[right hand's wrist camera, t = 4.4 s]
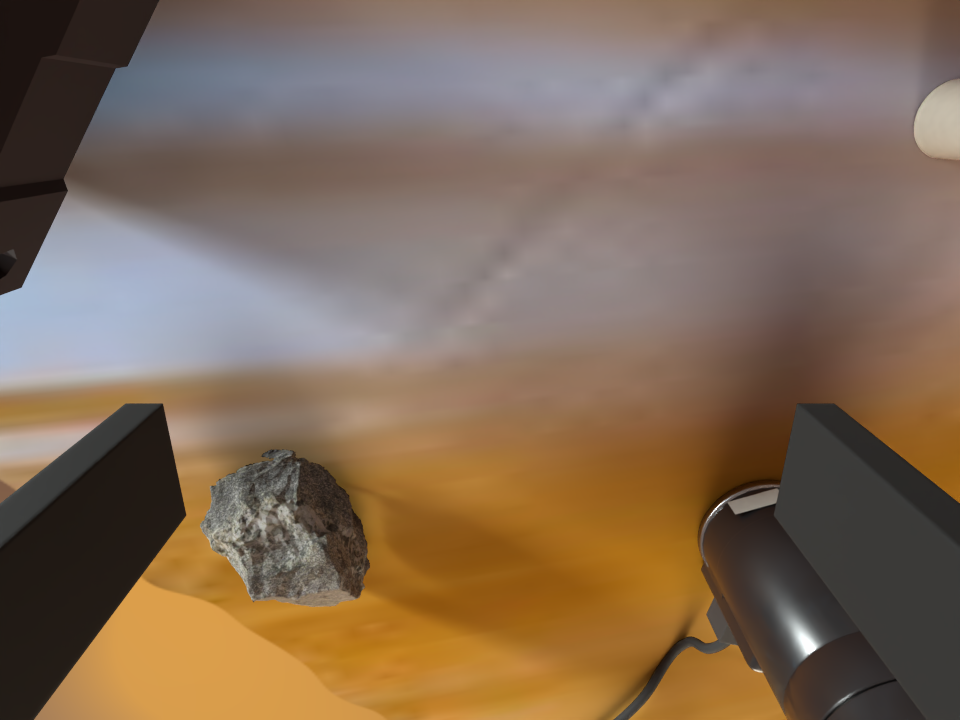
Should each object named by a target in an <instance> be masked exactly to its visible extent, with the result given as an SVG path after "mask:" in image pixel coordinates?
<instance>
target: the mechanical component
mask: <svg viewBox="0 0 960 720" xmlns="http://www.w3.org/2000/svg"><path fill="white" fill-rule="evenodd" d="M158 1H159V0H0V295H2V294H5V293H8V292H10V291H13V290H16V289H19V288H21V287H22V285H23V283H24V281H25V279H26V277H27V275H28V273H29V271H30V269H31V267H32V265H33V262H34V260H35V258H36V256H37V254H38V252H39V250H40V248H41V246H42V244H43V242H44V239H45V237H46V235H47V233H48V231H49V229H50V227H51V225H52V223H53V221H54V219H55V216H56V214H57V212H58V210H59V208H60V206H61V204H62V202H63V200H64V198H65V196H66V194H67V191H68V190H67V187H66V185H65V182H64V176H65V174H66V172H67V170H68V168H69V166H70V164H71V162H72V159H73V157H74V155H75V153H76V151H77V149H78V147H79V145H80V143H81V140H82V138H83V136H84V134H85V132H86V130H87V128H88V126H89V123H90V121H91V119H92V117H93V115H94V113H95V111H96V109H97V107H98V104H99V102H100V100H101V98H102V96H103V94H104V92H105V90H106V87H107V85H108V83H109V81H110V79H111V77H112V75H113V73H114V71H115V68H120V67H126V66H128V64H129V62H130V60H131V58H132V56H133V54H134V51H135V49H136V47H137V45H138V43H139V41H140V39H141V37H142V35H143V33H144V31H145V28H146V26H147V24H148V22H149V20H150V18H151V16H152V14H153V12H154V10H155V8H156V5H157V3H158Z"/></svg>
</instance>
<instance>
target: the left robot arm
mask: <svg viewBox="0 0 960 720" xmlns="http://www.w3.org/2000/svg"><path fill="white" fill-rule="evenodd" d="M780 483H781V481H772V480H767V481H757V482H752V483H748V484H745V485H742V486H739V487H737V488H735V489H733V490H731V491H729V492H728V493H726V494H725V495H723V496H722V497H721V498H719V499H718V500H717V501H716V502H715V503H714V504H713V505H712V506H711V507H710V508H709V510H708V511H707V512H706V514H705V516H704V517H703V520H702V522H701V524H700V527H699V531H698V547H699V551H700V553H701V556H702V558H703V560H704V564H703V567H702V569H701V571H702V573H703V575H704V577H705V579H706V581H707V583H708V585H709V587H710V589H711V591H712V593H713V595H714V599H713V601H712V603H711V606H710V608H709V610H708V612H707V617H708V619H709V621H710V623H711V626H712V628H713V630H714V632H715V634H716V636H717V639H718V640H717V641H715V642H712V643H704V642H702V641H701V640H699V639H697V638H695V637H687V638H685V639H683V640H681V641H679V642H677V643H676V644H675V645H674V646H673V647H672V648H671V649H670V651H669V652H668V653H667V654H666V656H665V657H664V658H663V660H662V661H661V663H660V664H659V665H658V667H657V668H656V670H655V672H654V674H653V675H652V677H651V679H650V680H649V682H648V683H647V685H646V687H645V688H644V689H643V691H642V692H641V693H640V694H639V696H638V697H637V698H636V699H635V700H634V701H633V702H632V703H631V704H630V705H629V706H628V707H627V708H626V709H625V710H624V711H623V712H622V713H621V714H619V715H618V716H617V717H616V718H615V719H614V720H628V719H629V718H631V717H632V716H633V715H634V714H635V713H636V712H637V711H638V710H639V709H640V708H641V707H642V706H643V705H644V704H645V702H646V701H647V700H648V699H649V697H650V696H651V695H652V693H653V692H654V690H655V689H656V687H657V686H658V684H659V682H660V681H661V679H662V677H663V676H664V674H665V672H666V671H667V669H668V667H669V666H670V664H671V663H672V662H673V660H674V659H675V658H676V657H677V655H678V654H680V653H681V652H682V651H683V650H685V649H686V648H688V647H695V648H696V649H698V650H699V651H701V652H703V653H706V654H711V653H716V652H719V651H721V650H723V649H725V648H726V647H728V646H729V645H730V644H733V645H738V646H739V648H740V650H741V652H742V654H743V656H744V658H745V660H746V662H747V664H748V665H749V667H750V668H751V669H752V670H754V671H757V672H762V673H764V675H765V677H766V679H767V681H768V683H769V685H770V687H771V689H772V691H773V693H774V694H775V696H776V698H777V700H778V702H779V704H780V706H781V708H782V710H783V712H784V714H785V716H786V718H787V720H926V719H925V717H924V716H923V715H922V713H921V712H920V711H919V709H918V708H917V707H916V705H915V704H914V703H913V701H912V700H911V699H910V697H909V696H908V695H907V693H906V692H905V691H904V689H903V688H902V687H901V685H900V684H899V683H898V681H897V680H896V678H895V677H894V676H893V674H892V673H891V672H890V670H889V669H888V668H887V666H886V665H885V664H884V662H883V661H882V660H881V658H880V657H879V656H878V654H877V653H876V652H875V650H874V649H873V648H872V646H871V645H870V644H869V642H868V641H867V640H866V638H865V637H864V636H863V634H862V633H861V632H860V630H859V629H858V628H857V626H856V625H855V624H854V622H853V621H852V620H851V618H850V617H849V615H848V614H847V613H846V611H845V610H844V609H843V607H842V606H841V605H840V603H839V602H838V601H837V599H836V598H835V597H834V595H833V594H832V593H831V591H830V590H829V589H828V587H827V586H826V585H825V583H824V582H823V581H822V579H821V578H820V577H819V575H818V574H817V573H816V571H815V570H814V569H813V567H812V566H811V565H810V563H809V562H808V561H807V559H806V558H805V557H804V555H803V554H802V553H801V551H800V550H799V548H798V547H797V546H796V544H795V543H794V542H793V540H792V539H791V538H790V536H789V535H788V534H787V532H786V531H785V530H784V528H783V527H782V526H781V524H780V523H779V522H778V520H777V519H776V518H775V516H774V512H775V507H776V502H777V497H778V493H779V488H780Z"/></svg>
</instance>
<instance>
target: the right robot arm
mask: <svg viewBox="0 0 960 720" xmlns="http://www.w3.org/2000/svg"><path fill="white" fill-rule="evenodd" d="M185 516H186V512H185V507H184V502H183V497H182V493H181V488H180V483H179V478H178V474H177V469H176V464H175V459H174V455H173V450H172V445H171V440H170V435H169V431H168V426H167V421H166V416H165V412H164V407H163V404H125V405H123V406H122V407H121V408H120V409H118V410H117V411H116V412H115V413H113V414H112V415H111V416H110V417H108V418H107V419H106V420H105V421H103V422H102V423H101V424H100V425H98V426H97V427H96V428H95V429H93V430H92V431H91V432H90V433H88V434H87V435H86V436H85V437H83V438H82V439H81V440H79V441H78V442H77V443H76V444H74V445H73V446H72V447H71V448H69V449H68V450H67V451H66V452H64V453H63V454H62V455H61V456H59V457H58V458H57V459H56V460H54V461H53V462H52V463H51V464H49V465H48V466H47V467H46V468H44V469H43V470H42V471H41V472H39V473H38V474H37V475H36V476H34V477H33V478H32V479H30V480H29V481H28V482H27V483H25V484H24V485H23V486H22V487H20V488H19V489H18V490H17V491H15V492H14V493H13V494H12V495H10V496H9V497H8V498H7V499H5V500H4V501H3V502H2V503H0V720H34V719H35V717H36V716H37V715H38V713H39V712H40V711H41V709H42V708H43V707H44V705H45V704H46V703H47V701H48V700H49V699H50V697H51V696H52V695H53V693H54V692H55V691H56V689H57V688H58V687H59V685H60V684H61V683H62V681H63V680H64V678H65V677H66V676H67V674H68V673H69V672H70V670H71V669H72V668H73V666H74V665H75V664H76V662H77V661H78V660H79V658H80V657H81V656H82V654H83V653H84V652H85V650H86V649H87V648H88V646H89V645H90V644H91V642H92V641H93V640H94V638H95V637H96V636H97V634H98V633H99V632H100V630H101V629H102V627H103V626H104V625H105V624H106V622H107V621H108V620H109V618H110V617H111V615H112V614H113V613H114V611H115V610H116V609H117V607H118V606H119V605H120V603H121V602H122V601H123V599H124V598H125V597H126V595H127V594H128V593H129V591H130V590H131V589H132V587H133V586H134V585H135V583H136V582H137V581H138V579H139V578H140V577H141V575H142V574H143V573H144V571H145V570H146V569H147V567H148V566H149V565H150V563H151V562H152V561H153V559H154V558H155V557H156V555H157V554H158V553H159V551H160V550H161V548H162V547H163V546H164V544H165V543H166V542H167V540H168V539H169V538H170V536H171V535H172V534H173V532H174V531H175V530H176V528H177V527H178V526H179V524H180V523H181V522H182V520H183V519H184V518H185ZM774 516H775V518H776V519H777V520H778V522H779V523H780V524H781V526H782V527H783V528H784V530H785V531H786V532H787V534H788V535H789V536H790V538H791V539H792V540H793V542H794V543H795V544H796V546H797V547H798V548H799V550H800V551H801V553H802V554H803V555H804V557H805V558H806V559H807V561H808V562H809V563H810V565H811V566H812V567H813V569H814V570H815V571H816V573H817V574H818V575H819V577H820V578H821V579H822V581H823V582H824V583H825V585H826V586H827V587H828V589H829V590H830V591H831V593H832V594H833V595H834V597H835V598H836V599H837V601H838V602H839V603H840V605H841V606H842V607H843V609H844V610H845V611H846V613H847V614H848V615H849V617H850V618H851V620H852V621H853V622H854V624H855V625H856V626H857V628H858V629H859V630H860V632H861V633H862V634H863V636H864V637H865V638H866V640H867V641H868V642H869V644H870V645H871V646H872V648H873V649H874V650H875V652H876V653H877V654H878V656H879V657H880V658H881V660H882V661H883V662H884V664H885V665H886V666H887V668H888V669H889V670H890V672H891V673H892V674H893V676H894V677H895V678H896V680H897V681H898V683H899V684H900V685H901V687H902V688H903V689H904V691H905V692H906V693H907V695H908V696H909V697H910V699H911V700H912V701H913V703H914V704H915V705H916V707H917V708H918V709H919V711H920V712H921V713H922V715H923V716H924V717H925V719H926V720H960V503H958V502H957V501H956V500H955V499H953V498H952V497H951V496H950V495H948V494H947V493H946V492H945V491H943V490H942V489H941V488H940V487H938V486H937V485H936V484H935V483H933V482H932V481H931V480H930V479H928V478H927V477H926V476H924V475H923V474H922V473H921V472H919V471H918V470H917V469H916V468H914V467H913V466H912V465H911V464H909V463H908V462H907V461H906V460H904V459H903V458H902V457H901V456H899V455H898V454H897V453H896V452H894V451H893V450H892V449H891V448H889V447H888V446H887V445H886V444H884V443H883V442H882V441H881V440H879V439H878V438H877V437H875V436H874V435H873V434H872V433H870V432H869V431H868V430H867V429H865V428H864V427H863V426H862V425H860V424H859V423H858V422H857V421H855V420H854V419H853V418H852V417H850V416H849V415H848V414H847V413H845V412H844V411H843V410H842V409H840V408H839V407H838V406H837V405H835V404H797V407H796V412H795V416H794V421H793V426H792V431H791V435H790V440H789V445H788V450H787V455H786V459H785V464H784V469H783V474H782V478H781V483H780V488H779V493H778V497H777V502H776V507H775V512H774Z"/></svg>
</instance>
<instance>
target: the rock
mask: <svg viewBox="0 0 960 720" xmlns="http://www.w3.org/2000/svg"><path fill="white" fill-rule="evenodd" d="M262 457H267V458H268V457H269V459H271V458H274V460H273V461H262V462H260V463H253V464H249V465H246V466H244V467H242V468H240V469H238V470H237V472H236V473H233V474H228V475H227V476H226V477H225V478H222V479H219V481H218V482H216V484H217V485H216V486H210V490H211V497H212V502H211V508H210V510H208V511H207V514H206V516H205V520H204V521H202V523H201V525H200V527H201V529H202V532H203V533H204V534H205V535H206V537H207V538H208V539H209V541H210V546H211V548H212V549H213V551H215V552H217V553H218V554H220V555H222V556H225V557H227V558H228V560H229V562H230V563H231V565H232V566H233V567H234V568H235V569H236V571H237V572H238V573H239V575H240V576H241V578H242V579H243V581H244V583H245V585H246V587H247V591H248V593H249V595H250V597H251V599H252V600H253V602H254V601H256V600H258V601H268V600H273V599H275V600H277V601H279V602H288V603H292V604H297V605H306V606H310V607H321V606H336V605H337V604H338V603H340V602H342V601H349V600H354V599H357V598H359V597H360V595H361V591H362V590H363V589H364V588H365V586H364V584H363V577H364V575H365V574H366V571H367V570H368V569H369V568H370V565H369V564H370V563H369V560H368V559H367V557H366V556H367V541H366V540H365V536H364V534H363V525H362V523H361V520H360V519H359V518H358V516H356V514H355V513H354V512H353V510H352V508H351V503H350V500H349V495H348V494H347V493H346V491H345V490H344V489H343V488H341V487H340V486H338V485H337V484H336V483H335V482H336V480H335V479H334V477H332V476H331V475H330V473H328V471H327V470H325V469H324V467H322V466H321V465H319V464H316V463H315V464H314V463H309V462H308V461H307V460H306V459H305V458H299V459H297V458H296V457H295V452H294V451H291V450H290V451H289V450H277V449H275V450H269V451H267V452H265V453H263V455H262Z"/></svg>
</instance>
